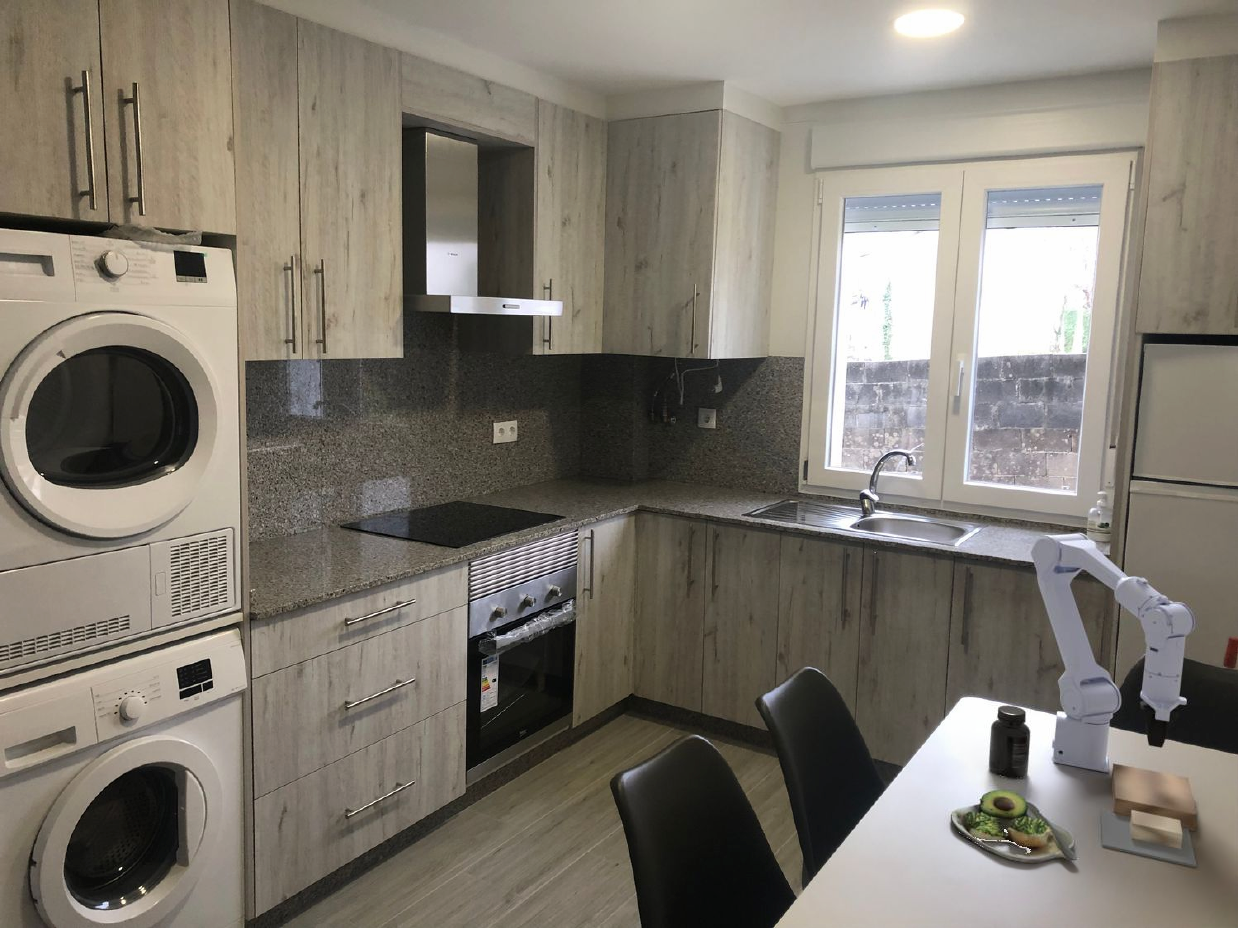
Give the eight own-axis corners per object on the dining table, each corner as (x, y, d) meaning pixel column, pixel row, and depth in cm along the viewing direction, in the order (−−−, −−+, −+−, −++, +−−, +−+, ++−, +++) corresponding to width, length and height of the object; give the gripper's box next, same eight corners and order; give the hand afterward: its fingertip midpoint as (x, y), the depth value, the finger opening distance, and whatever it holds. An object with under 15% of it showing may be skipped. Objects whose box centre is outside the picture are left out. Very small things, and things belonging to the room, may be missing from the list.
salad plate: (1111, 858, 150) (1113, 831, 149) (1028, 883, 143) (1030, 854, 142) (1013, 803, 167) (1015, 778, 167) (935, 822, 160) (937, 796, 159)
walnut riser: (1113, 814, 163) (1115, 797, 163) (1111, 778, 177) (1113, 763, 176) (1195, 831, 158) (1197, 814, 158) (1186, 793, 172) (1188, 777, 171)
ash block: (1131, 809, 159) (1130, 823, 159) (1132, 823, 155) (1131, 837, 155) (1180, 819, 156) (1178, 834, 156) (1182, 833, 152) (1180, 848, 152)
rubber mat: (1102, 846, 153) (1102, 844, 153) (1100, 812, 164) (1101, 810, 164) (1196, 867, 147) (1196, 865, 147) (1188, 830, 158) (1188, 828, 158)
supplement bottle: (1026, 766, 181) (1031, 706, 179) (1028, 782, 174) (1034, 719, 173) (987, 760, 183) (992, 700, 181) (988, 775, 177) (993, 713, 175)
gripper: (1193, 688, 159) (1185, 766, 161) (1185, 662, 172) (1177, 734, 174) (1145, 681, 162) (1137, 757, 164) (1140, 656, 175) (1133, 726, 177)
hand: (1155, 745), depth 169 cm, fingers closed
